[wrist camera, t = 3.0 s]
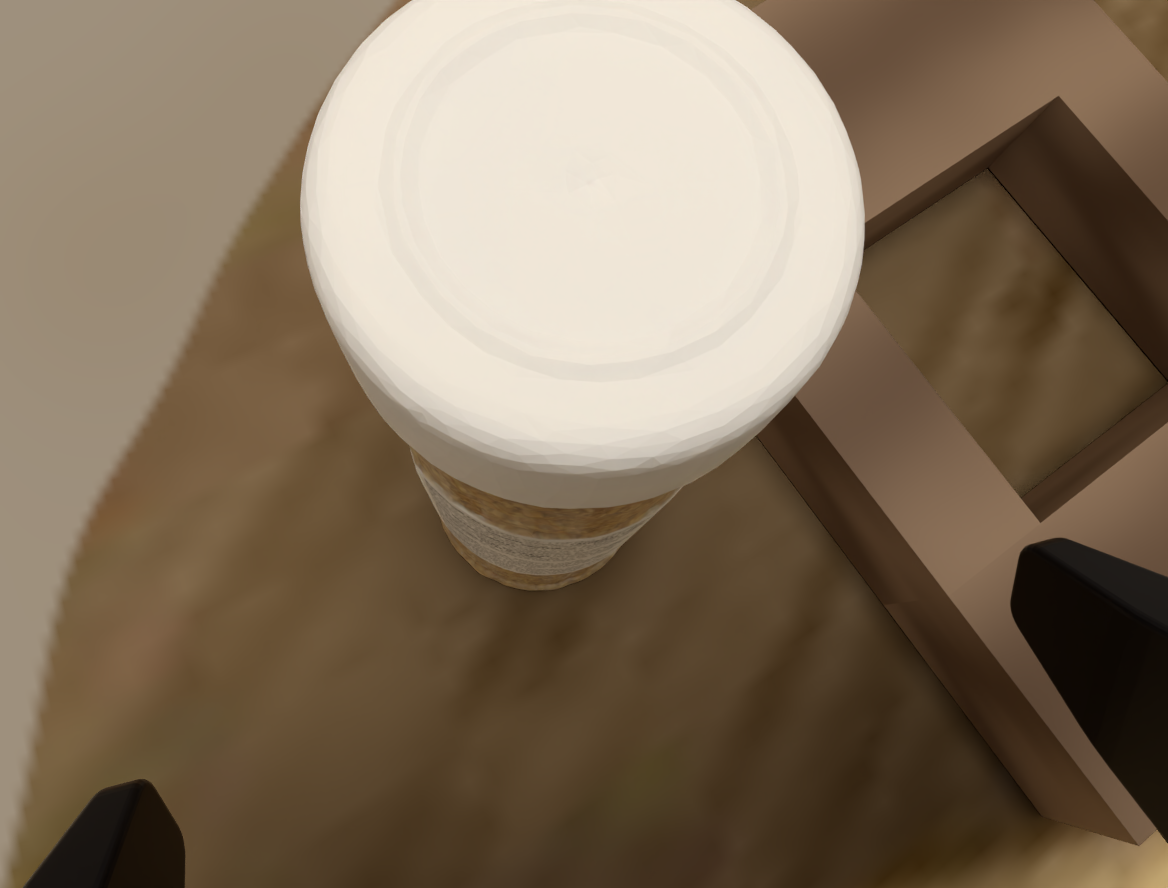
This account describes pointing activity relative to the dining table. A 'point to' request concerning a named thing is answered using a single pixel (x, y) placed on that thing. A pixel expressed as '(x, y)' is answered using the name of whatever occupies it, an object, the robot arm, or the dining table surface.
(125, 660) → the dining table surface
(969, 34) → the socket block
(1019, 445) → the dining table surface
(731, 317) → the sprinkles bottle
